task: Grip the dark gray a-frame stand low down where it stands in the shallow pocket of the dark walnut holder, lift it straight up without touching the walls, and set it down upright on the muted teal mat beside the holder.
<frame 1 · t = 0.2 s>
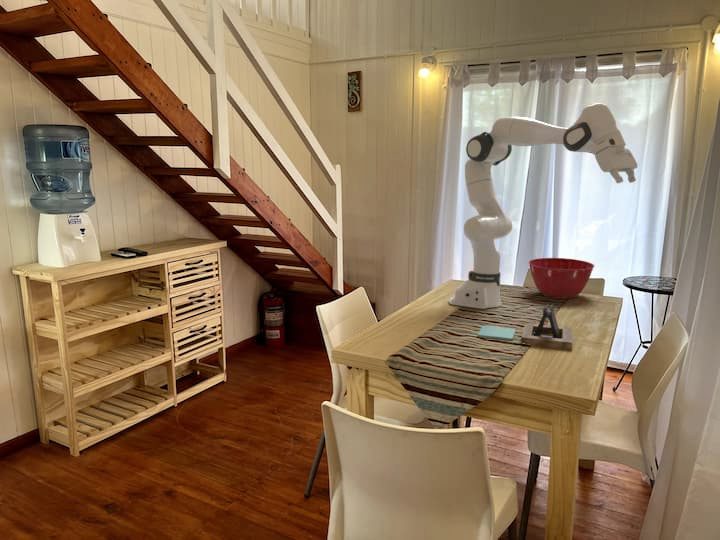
hand: (626, 182, 185), 54 cm above the table, tool tilted 30°, fingers open, 8 cm apart
mixing bowl: (558, 295, 252), on the table
dark gray a-frame stand: (546, 339, 189), resting in walnut holder
walnut holder: (546, 339, 189), on the table
teal mat: (496, 333, 195), on the table
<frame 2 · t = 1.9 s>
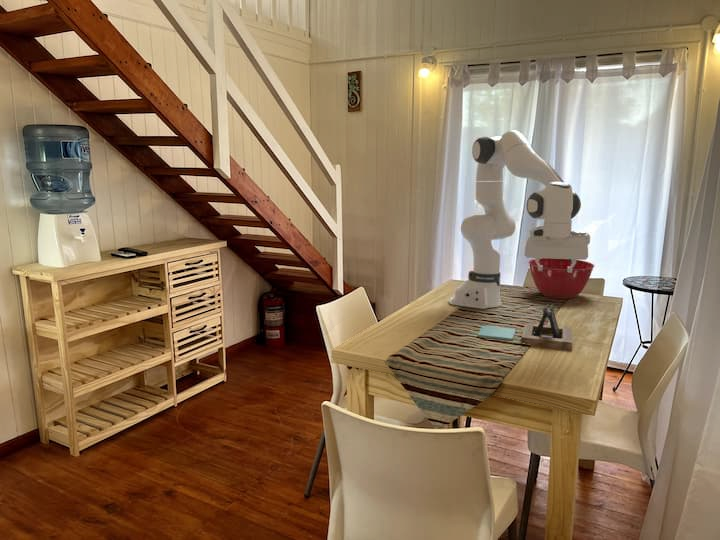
hand: (554, 271, 184), 24 cm above the table, tool pointing down, fingers open, 8 cm apart
nothing on the table moved.
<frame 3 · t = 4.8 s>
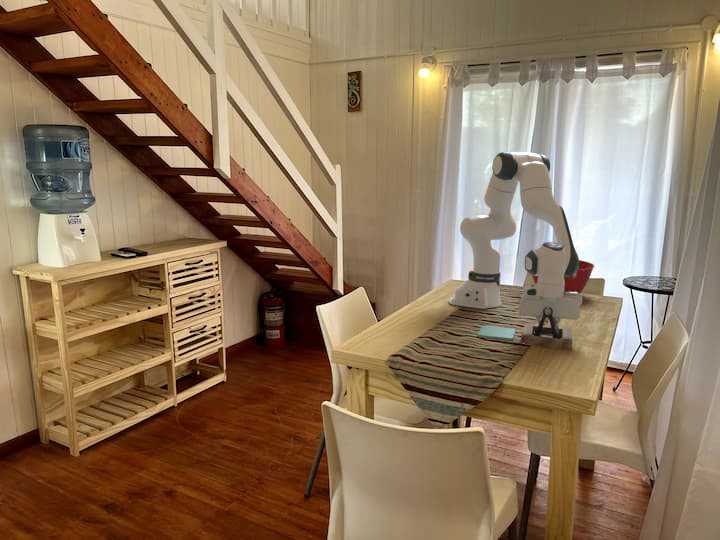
hand: (547, 329, 188), 4 cm above the table, tool pointing down, fingers closed on dark gray a-frame stand, 3 cm apart
dark gray a-frame stand: (546, 339, 189), resting in walnut holder, touching gripper
everything else where it was.
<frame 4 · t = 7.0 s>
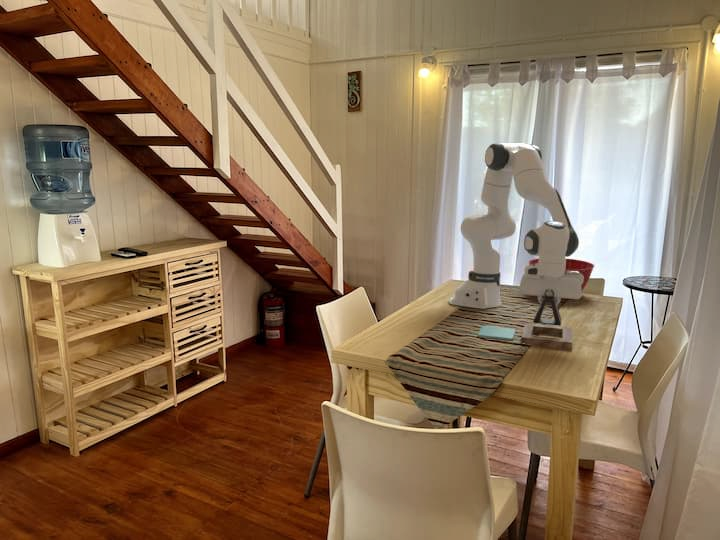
hand: (548, 308, 187), 11 cm above the table, tool pointing down, fingers closed on dark gray a-frame stand, 2 cm apart
dark gray a-frame stand: (547, 322, 188), point 6 cm above the table, touching gripper
everything else where it was.
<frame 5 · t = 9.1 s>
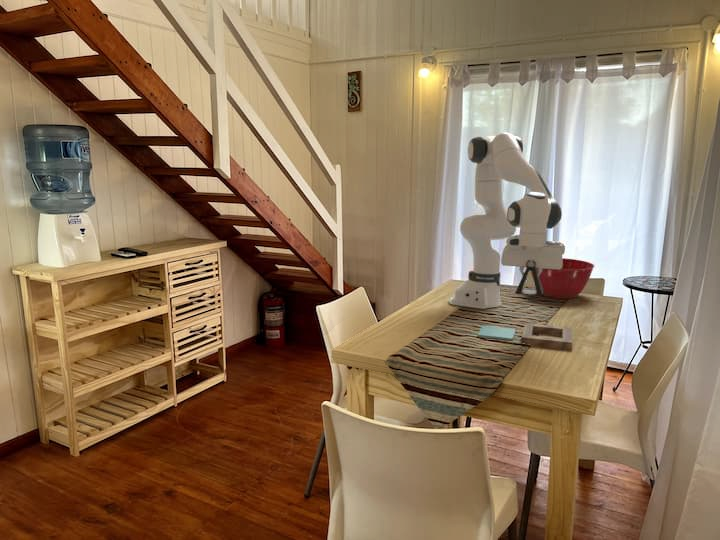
hand: (530, 279, 188), 21 cm above the table, tool pointing down, fingers closed on dark gray a-frame stand, 2 cm apart
dark gray a-frame stand: (529, 293, 189), point 16 cm above the table, touching gripper
everything else where it was.
when the fingers open (6 cm above the table, at t = 12.2 s): dark gray a-frame stand moves 1 cm, resting on teal mat.
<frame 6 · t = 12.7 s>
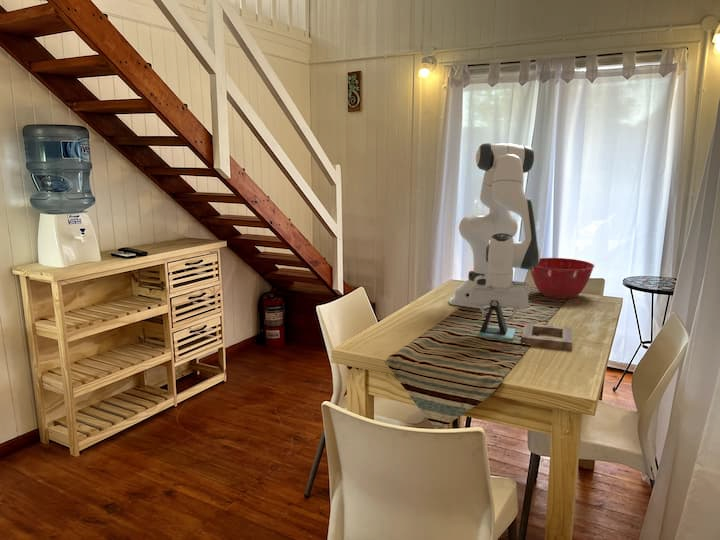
hand: (497, 318, 194), 6 cm above the table, tool pointing down, fingers open, 8 cm apart
dark gray a-frame stand: (493, 331, 195), point 1 cm above the table, touching teal mat
everything else where it was.
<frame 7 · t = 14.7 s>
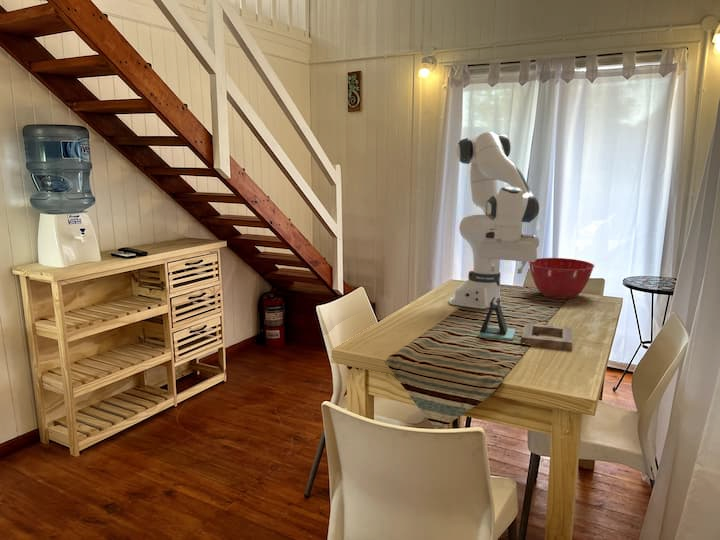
hand: (505, 272, 193), 22 cm above the table, tool pointing down, fingers open, 8 cm apart
nothing on the table moved.
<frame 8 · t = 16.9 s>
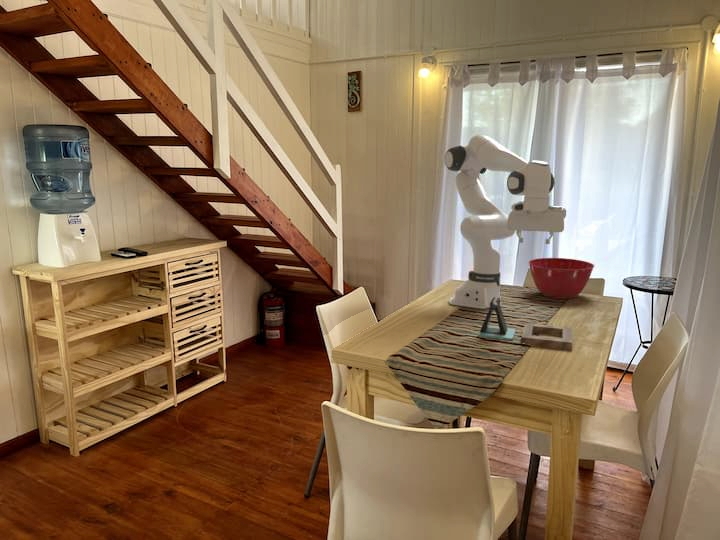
hand: (534, 243, 201), 31 cm above the table, tool pointing down, fingers open, 8 cm apart
nothing on the table moved.
at the end: dark gray a-frame stand inside the target area on the teal mat (1.2 cm from its centre), point 0.6 cm above the teal mat's base; dark gray a-frame stand tilted 0°; the gripper is holding nothing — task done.
